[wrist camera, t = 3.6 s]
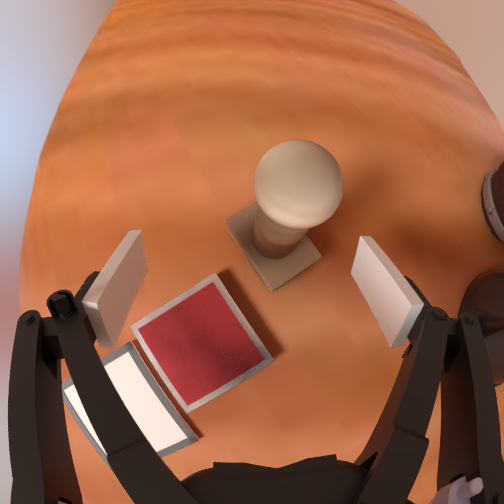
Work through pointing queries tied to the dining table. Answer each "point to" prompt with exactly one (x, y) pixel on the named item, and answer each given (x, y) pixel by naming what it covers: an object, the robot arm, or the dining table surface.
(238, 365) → the ink pad
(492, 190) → the flowerpot
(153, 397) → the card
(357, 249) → the robot arm
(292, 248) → the stamp
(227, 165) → the dining table surface
